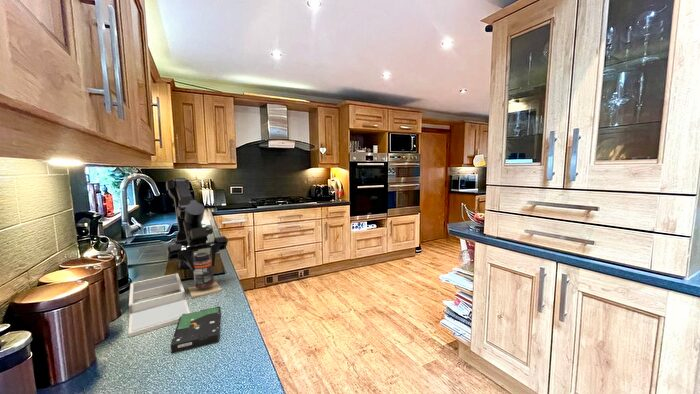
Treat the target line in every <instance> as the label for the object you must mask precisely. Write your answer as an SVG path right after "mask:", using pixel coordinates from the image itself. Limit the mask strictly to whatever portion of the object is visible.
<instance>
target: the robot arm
mask: <svg viewBox="0 0 700 394" xmlns="http://www.w3.org/2000/svg"><path fill="white" fill-rule="evenodd" d="M190 187H191V186H190V179H187V178H186V177H175V178H172V179H169V180H166V182H165V188H166V191H167V192H168V195H169V197H170V198H171V199H173V203H174V208H175V210H174V211H175V216H176V222H177V229H178V230H177V231H178V232H177V234H176V236H175V240H174V241H173V244H169V245H168V246H167V249H166V257H167V260H168V261H171V260H177V261H179V263H178V264H177V265H178V266H177V267H178V268H179V270H183V269H188V268H189V269H190V270H191V271H192V272H193V271H194V265H193V262H194V261H195V260H196V259H195V253H196V252H198V251H199V250H204V249H205V250H206V249H210V250H209V258H210V259H211V260H212V267H213V268H214V267H215V264H216V254H217V253H219V251H223V250H225V249H227V245H228V242H229V241H228V237H227V236H225V235H224V236H218V237H217V236H216V237H214V239H213V241H210V242H207V241H208V237H209V235H213V233H214V229H213V225H212V224H206V225H205V226H203V225H202V221H203V220H204V219H203V218H204V213H205V206H204V205H203V204H202V203H199V201H197V200H196V199H194V198H193V197H192V193H191V192H190Z"/></svg>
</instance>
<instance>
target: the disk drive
mask: <svg viewBox="0 0 700 394" xmlns="http://www.w3.org/2000/svg"><path fill="white" fill-rule="evenodd" d="M221 311H222V310H221V306H215V307H211V308H206V309H201V310H198V311H195V312H190V313H188V314H185V313H184V314H182V316H180V318H179V321H178V323H176V324H177V325H176V328H175V330H174V332H173V333H174V334H173V337H172V339H171V343H170V351H171V354H174V353H175V354H176V353H178V352H182V351H186V350H190V349H195V348H199V347H203V346H208V345H212V344H214V343H215V344H216V343H219V342H220V337H221V335H220V331H221V317H222V316H221V314H222V313H221Z"/></svg>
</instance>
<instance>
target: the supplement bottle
mask: <svg viewBox="0 0 700 394" xmlns="http://www.w3.org/2000/svg"><path fill="white" fill-rule="evenodd" d="M194 260H195V261H194V262H193V265H194V271H192V272H193V280H194V286H195V287H196V288H206V287H209V286H211V285H212V284H213V283H214V281H215V279H214V270H213V268H214V267H213V266H212V260H211V258H210V255H209V253H208V252H198V253H196V254H194Z"/></svg>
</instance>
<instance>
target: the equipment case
mask: <svg viewBox="0 0 700 394" xmlns="http://www.w3.org/2000/svg"><path fill="white" fill-rule="evenodd" d="M179 275H180V274H179V273H178V272H175V273H172V274H166V275H162V276H159V277H154V278H148V279H145V280H140V281H134V282H130V285H129V299H128V309H129V320H128V332H127V334H128V338H131V337H134V336H138V335H142V334H144V333H148V332H151V331H154V330H158V329H161V328H163V327H168V326H170V325H174V324H178V321H179V318H180V316H182V314H184V313H185V314H188V313H191V311H190V308H189V306H188V303H187V299H186V291H185V289H184V285H183V283H182V280H181V278H180V276H179ZM175 291H178V292H175ZM171 292H175V293H171ZM167 293H171V294H167ZM164 294H166V295H164ZM158 295H162V296H159V297H155V296H158ZM163 295H164V296H163ZM151 297H155V298H151ZM147 298H150V299H147ZM142 299H147V300H143V301H138V300H142ZM135 301H138V302H135Z"/></svg>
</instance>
